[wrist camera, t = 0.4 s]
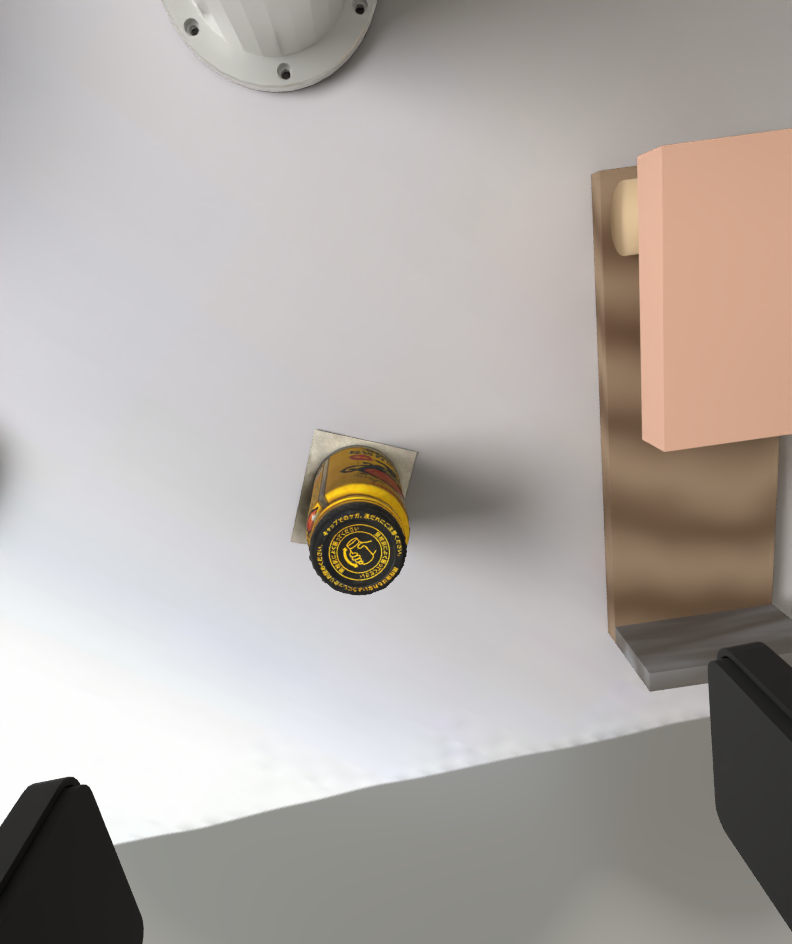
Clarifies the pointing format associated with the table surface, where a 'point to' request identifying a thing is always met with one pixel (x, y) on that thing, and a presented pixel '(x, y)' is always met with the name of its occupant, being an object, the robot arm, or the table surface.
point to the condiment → (354, 512)
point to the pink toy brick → (712, 287)
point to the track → (675, 506)
